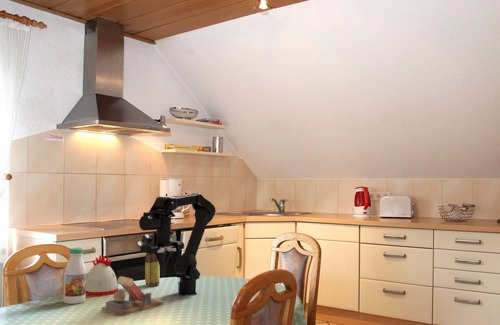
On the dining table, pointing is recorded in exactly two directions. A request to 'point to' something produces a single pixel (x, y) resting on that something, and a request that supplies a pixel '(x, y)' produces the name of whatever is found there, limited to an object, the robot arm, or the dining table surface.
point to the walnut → (119, 296)
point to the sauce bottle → (152, 270)
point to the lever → (131, 288)
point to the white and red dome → (101, 278)
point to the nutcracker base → (134, 307)
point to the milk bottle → (75, 278)
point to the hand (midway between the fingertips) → (162, 269)
